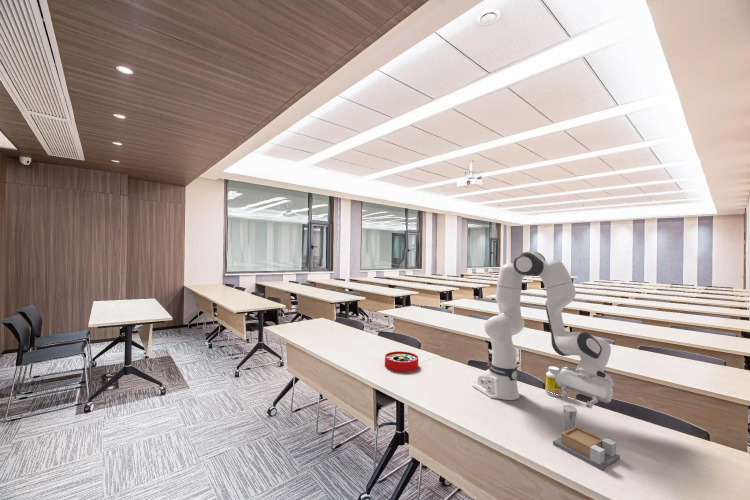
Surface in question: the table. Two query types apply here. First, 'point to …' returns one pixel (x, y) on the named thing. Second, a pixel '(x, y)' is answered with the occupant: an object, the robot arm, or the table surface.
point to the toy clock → (401, 361)
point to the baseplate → (588, 447)
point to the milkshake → (569, 416)
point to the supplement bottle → (552, 382)
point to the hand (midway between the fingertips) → (575, 401)
